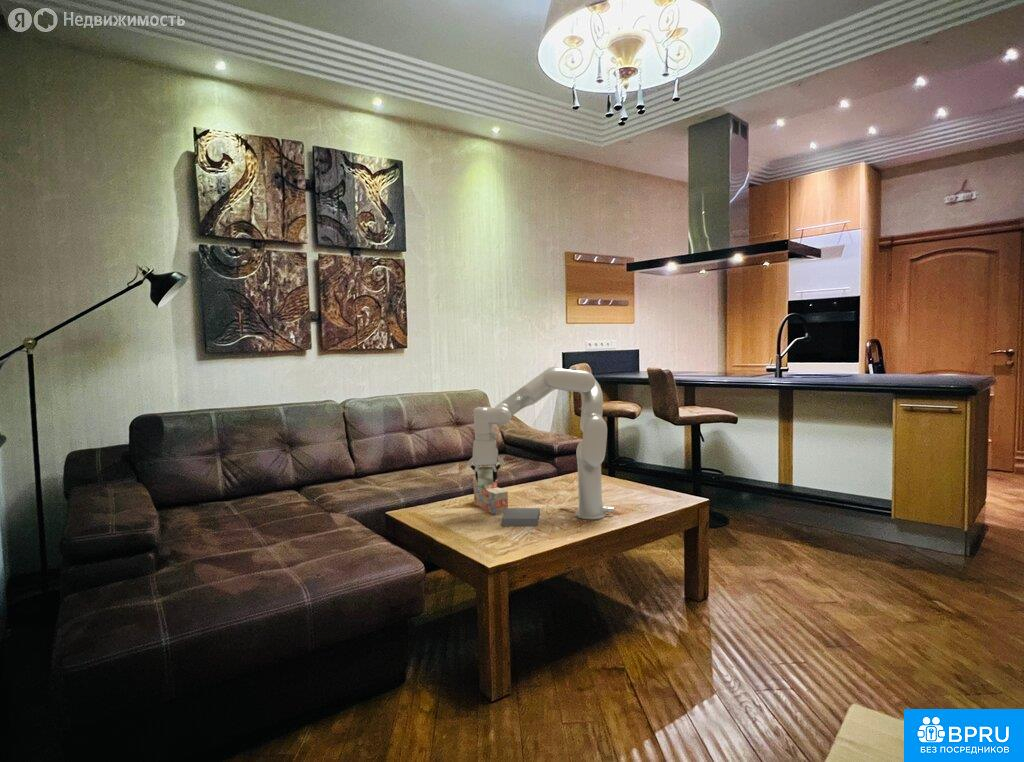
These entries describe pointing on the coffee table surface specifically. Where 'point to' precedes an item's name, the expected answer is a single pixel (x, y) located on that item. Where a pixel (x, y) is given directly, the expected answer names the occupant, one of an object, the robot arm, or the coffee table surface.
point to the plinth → (521, 517)
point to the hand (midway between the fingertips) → (486, 480)
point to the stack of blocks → (490, 497)
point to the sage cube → (485, 476)
